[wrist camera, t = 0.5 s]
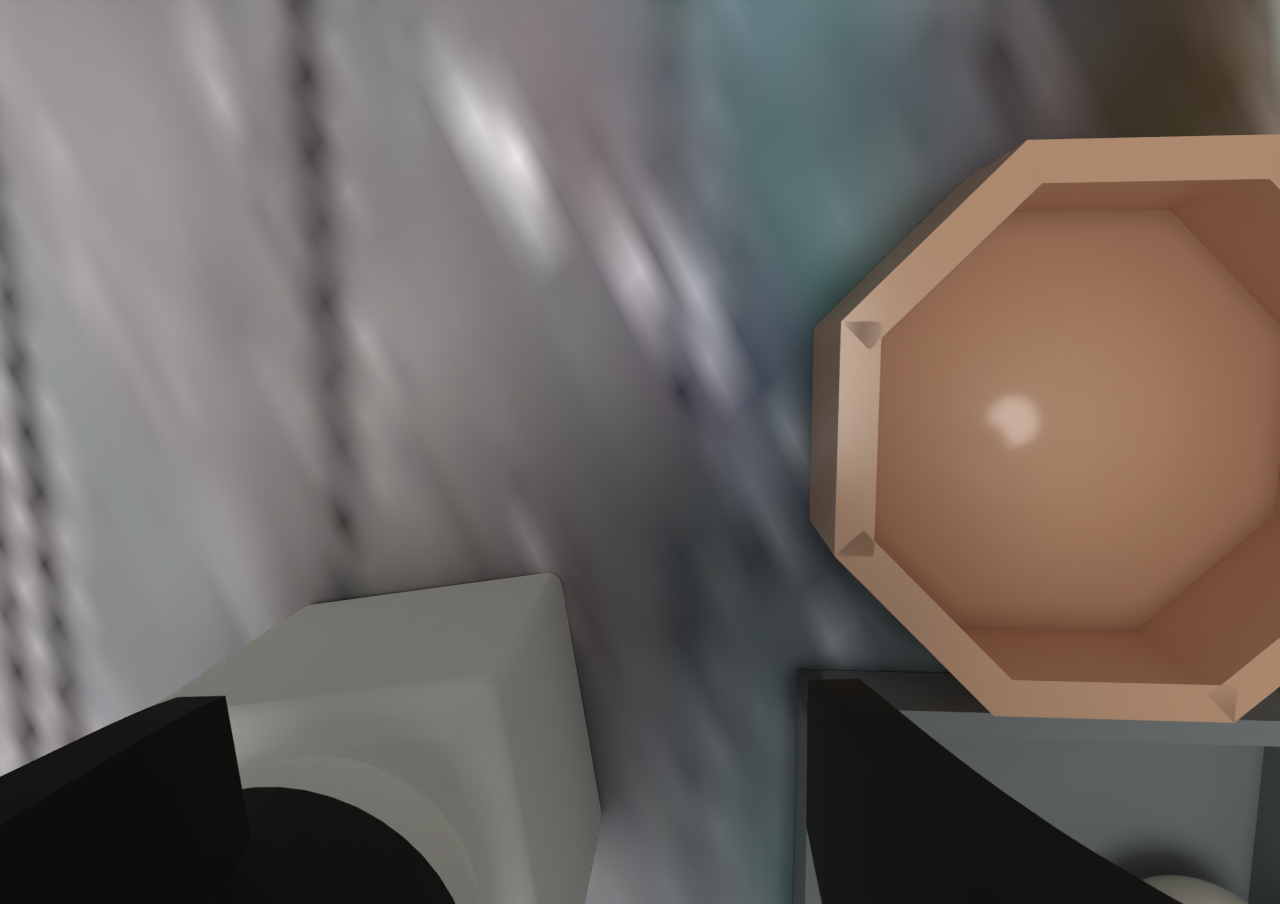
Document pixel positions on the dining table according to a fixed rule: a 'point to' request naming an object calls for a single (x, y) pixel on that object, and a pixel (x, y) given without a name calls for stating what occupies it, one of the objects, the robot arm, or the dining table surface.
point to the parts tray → (1101, 781)
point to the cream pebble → (1193, 890)
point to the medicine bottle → (413, 750)
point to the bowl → (1071, 429)
